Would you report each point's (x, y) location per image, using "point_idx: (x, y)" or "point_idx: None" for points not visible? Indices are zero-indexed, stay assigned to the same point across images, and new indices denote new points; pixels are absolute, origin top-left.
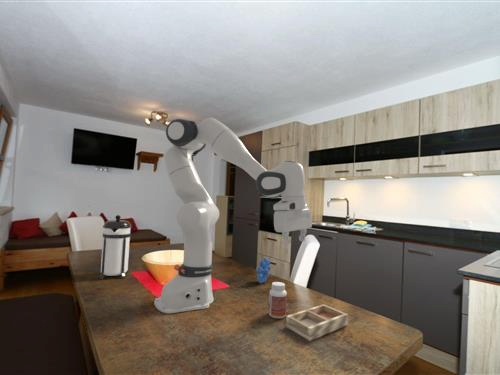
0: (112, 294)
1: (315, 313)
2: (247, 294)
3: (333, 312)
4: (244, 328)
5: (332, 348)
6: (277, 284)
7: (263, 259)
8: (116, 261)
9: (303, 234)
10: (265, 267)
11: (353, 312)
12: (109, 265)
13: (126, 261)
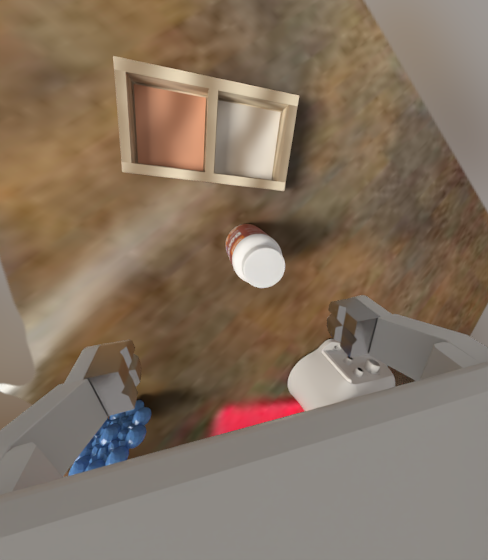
0: None
1: (208, 145)
2: (217, 360)
3: (131, 121)
4: (340, 239)
5: (277, 38)
6: (273, 265)
7: None
8: None
9: (70, 412)
10: (106, 445)
11: (12, 106)
12: None
13: None
